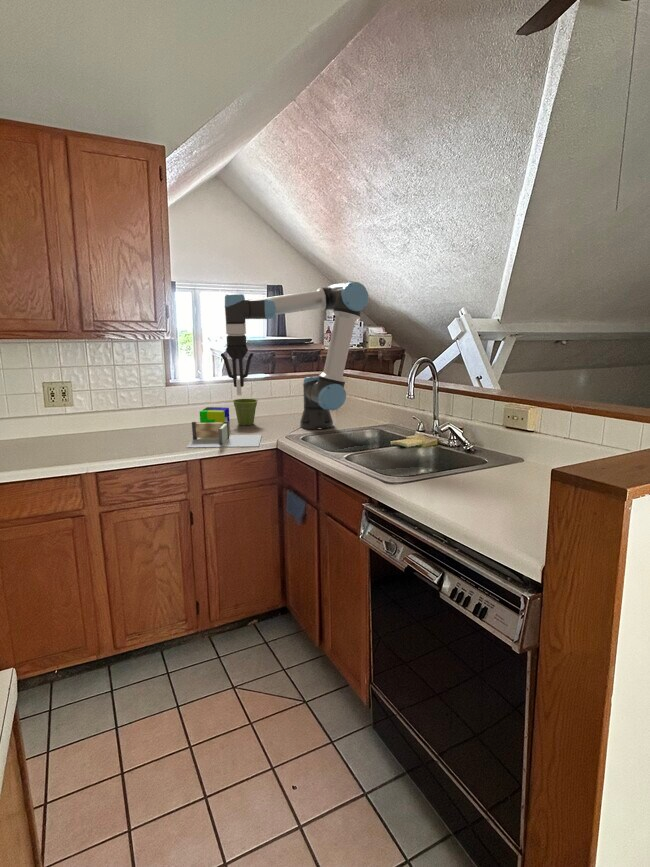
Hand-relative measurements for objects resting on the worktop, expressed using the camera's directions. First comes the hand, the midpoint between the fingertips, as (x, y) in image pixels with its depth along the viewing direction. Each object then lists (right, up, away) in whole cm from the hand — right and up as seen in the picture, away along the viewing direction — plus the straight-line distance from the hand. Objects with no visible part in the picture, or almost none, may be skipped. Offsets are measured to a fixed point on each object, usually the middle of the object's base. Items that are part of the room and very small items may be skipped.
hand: (239, 394), depth 200 cm
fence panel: (-7, -19, +1) cm, 20 cm away
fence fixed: (-13, -18, +8) cm, 23 cm away
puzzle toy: (-14, -15, +21) cm, 30 cm away
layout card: (-6, -19, +5) cm, 20 cm away
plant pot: (-3, -11, +35) cm, 37 cm away
